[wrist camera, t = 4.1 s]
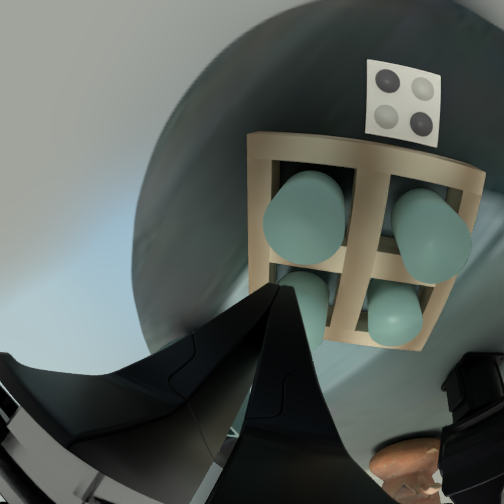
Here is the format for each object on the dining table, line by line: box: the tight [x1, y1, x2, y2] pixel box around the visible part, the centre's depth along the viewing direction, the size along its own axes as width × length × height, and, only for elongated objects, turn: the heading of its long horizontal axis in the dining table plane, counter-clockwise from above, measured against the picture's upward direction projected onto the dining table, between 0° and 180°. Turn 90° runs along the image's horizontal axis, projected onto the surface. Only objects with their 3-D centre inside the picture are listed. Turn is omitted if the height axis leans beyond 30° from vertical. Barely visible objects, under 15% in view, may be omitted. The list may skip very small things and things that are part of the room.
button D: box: [263, 170, 345, 265], centre depth 15 cm, size 4×4×4 cm
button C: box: [278, 271, 330, 351], centre depth 18 cm, size 4×4×4 cm
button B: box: [391, 188, 471, 284], centre depth 13 cm, size 4×4×4 cm
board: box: [247, 131, 486, 351], centre depth 18 cm, size 15×15×2 cm
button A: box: [367, 278, 423, 347], centre depth 18 cm, size 4×4×4 cm
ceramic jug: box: [369, 438, 442, 504], centre depth 26 cm, size 18×14×14 cm
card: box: [365, 59, 441, 148], centre depth 13 cm, size 5×5×1 cm
